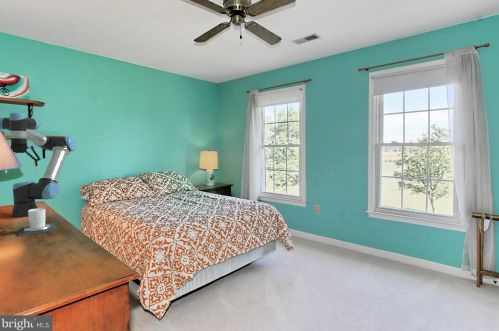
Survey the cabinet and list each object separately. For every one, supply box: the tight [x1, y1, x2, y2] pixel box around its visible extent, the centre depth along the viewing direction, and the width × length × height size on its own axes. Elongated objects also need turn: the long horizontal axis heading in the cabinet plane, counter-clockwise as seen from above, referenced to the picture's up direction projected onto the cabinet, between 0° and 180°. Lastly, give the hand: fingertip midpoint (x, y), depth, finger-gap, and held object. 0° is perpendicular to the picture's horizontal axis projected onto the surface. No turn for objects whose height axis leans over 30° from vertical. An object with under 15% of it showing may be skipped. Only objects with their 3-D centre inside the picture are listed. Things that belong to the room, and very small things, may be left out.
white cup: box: [27, 207, 46, 229], centre depth 154 cm, size 8×8×10 cm
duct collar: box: [18, 222, 56, 237], centre depth 154 cm, size 14×16×2 cm
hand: (20, 172), depth 168 cm, fingers open, 13 cm apart
